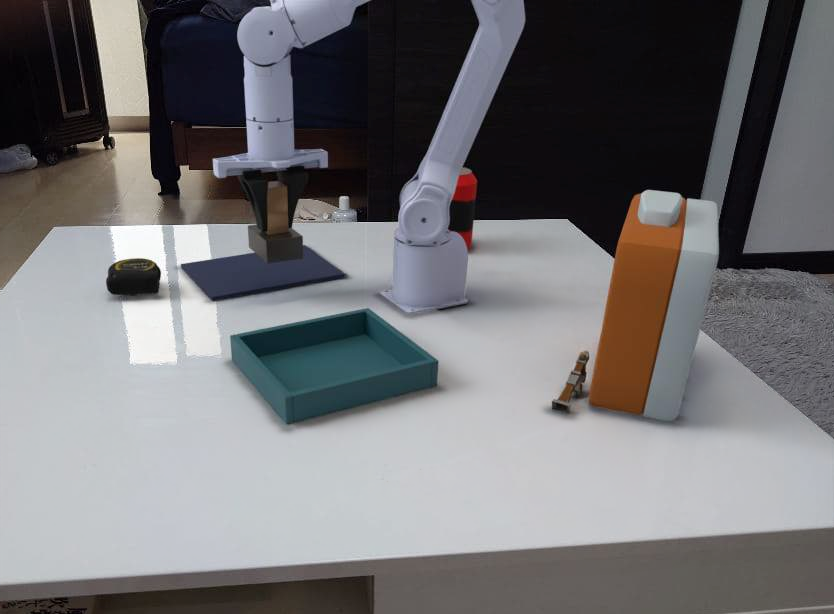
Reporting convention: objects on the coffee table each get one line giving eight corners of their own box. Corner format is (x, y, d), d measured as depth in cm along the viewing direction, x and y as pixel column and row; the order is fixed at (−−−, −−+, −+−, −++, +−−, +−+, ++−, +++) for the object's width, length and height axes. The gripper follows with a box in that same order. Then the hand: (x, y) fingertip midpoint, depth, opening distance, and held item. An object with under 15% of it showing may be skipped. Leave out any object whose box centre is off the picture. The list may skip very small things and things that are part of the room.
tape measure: (107, 302, 102) (103, 275, 100) (115, 282, 108) (111, 257, 106) (160, 300, 103) (156, 273, 101) (164, 281, 109) (161, 255, 107)
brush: (283, 242, 106) (281, 176, 101) (303, 258, 101) (301, 189, 96) (248, 247, 104) (244, 179, 99) (267, 263, 99) (263, 193, 94)
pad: (304, 248, 122) (304, 244, 122) (345, 277, 111) (345, 273, 111) (181, 267, 114) (180, 263, 113) (211, 301, 103) (211, 297, 103)
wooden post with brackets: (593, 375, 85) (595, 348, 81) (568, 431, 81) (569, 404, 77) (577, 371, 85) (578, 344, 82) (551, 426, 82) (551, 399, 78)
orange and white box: (605, 340, 95) (638, 170, 84) (681, 352, 92) (724, 178, 82) (585, 411, 80) (622, 215, 70) (675, 428, 77) (727, 227, 67)
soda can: (417, 240, 126) (421, 165, 120) (461, 237, 128) (467, 163, 122) (432, 255, 120) (437, 177, 114) (478, 252, 122) (485, 175, 116)
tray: (367, 333, 95) (368, 307, 93) (436, 389, 83) (438, 360, 82) (231, 363, 88) (229, 335, 86) (286, 428, 76) (285, 397, 74)
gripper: (222, 128, 88) (230, 244, 95) (338, 119, 93) (337, 229, 100) (204, 117, 93) (213, 227, 100) (314, 110, 99) (316, 214, 106)
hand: (274, 227), depth 101 cm, fingers closed on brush, 3 cm apart
